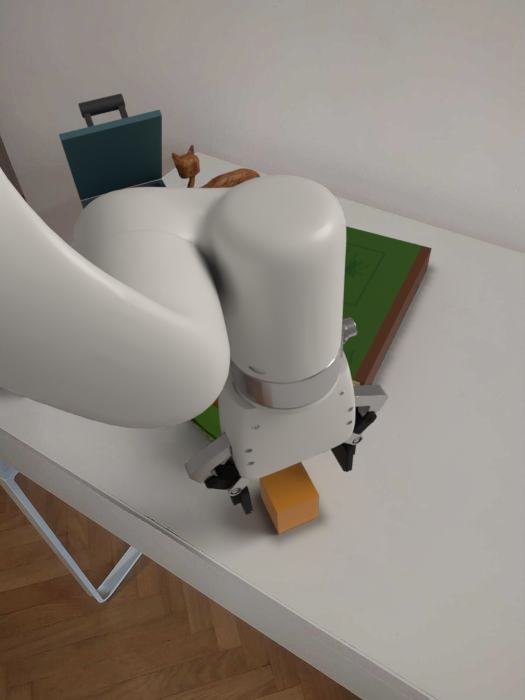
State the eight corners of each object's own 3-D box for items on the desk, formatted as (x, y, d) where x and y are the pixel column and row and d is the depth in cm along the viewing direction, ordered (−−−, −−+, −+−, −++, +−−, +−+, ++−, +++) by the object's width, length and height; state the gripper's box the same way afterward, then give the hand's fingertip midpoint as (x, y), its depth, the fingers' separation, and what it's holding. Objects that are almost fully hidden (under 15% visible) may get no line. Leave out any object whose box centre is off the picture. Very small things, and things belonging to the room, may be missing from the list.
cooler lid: (162, 115, 64) (147, 76, 65) (60, 140, 62) (46, 99, 62) (162, 178, 79) (150, 146, 80) (80, 200, 77) (68, 167, 77)
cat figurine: (274, 185, 92) (270, 101, 82) (300, 203, 89) (299, 118, 78) (179, 231, 86) (161, 146, 76) (202, 252, 82) (188, 166, 72)
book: (362, 403, 63) (364, 382, 60) (215, 350, 70) (212, 329, 67) (428, 266, 77) (433, 244, 75) (302, 232, 84) (302, 211, 81)
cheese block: (278, 534, 54) (276, 513, 51) (261, 497, 57) (258, 474, 53) (318, 517, 55) (319, 495, 52) (299, 481, 57) (299, 458, 54)
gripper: (369, 282, 43) (357, 413, 56) (147, 361, 39) (189, 481, 52) (425, 350, 38) (398, 476, 51) (180, 447, 35) (217, 555, 48)
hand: (292, 478), depth 52 cm, fingers open, 9 cm apart
